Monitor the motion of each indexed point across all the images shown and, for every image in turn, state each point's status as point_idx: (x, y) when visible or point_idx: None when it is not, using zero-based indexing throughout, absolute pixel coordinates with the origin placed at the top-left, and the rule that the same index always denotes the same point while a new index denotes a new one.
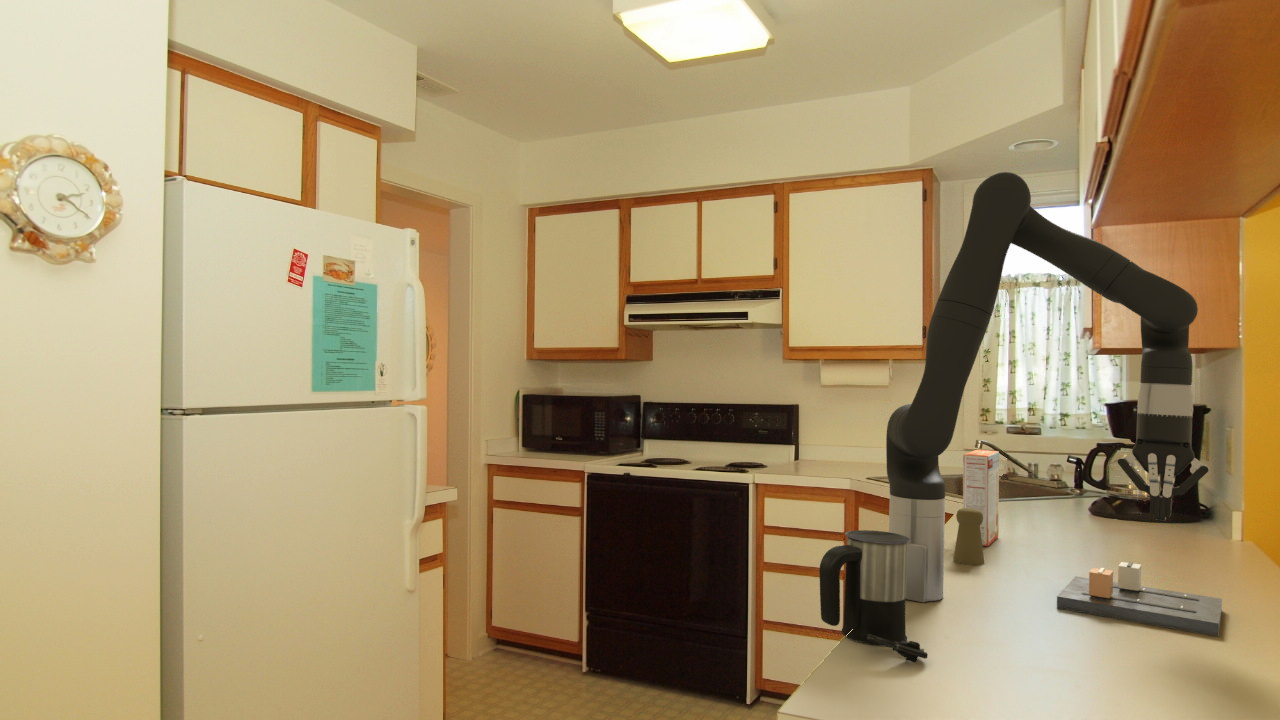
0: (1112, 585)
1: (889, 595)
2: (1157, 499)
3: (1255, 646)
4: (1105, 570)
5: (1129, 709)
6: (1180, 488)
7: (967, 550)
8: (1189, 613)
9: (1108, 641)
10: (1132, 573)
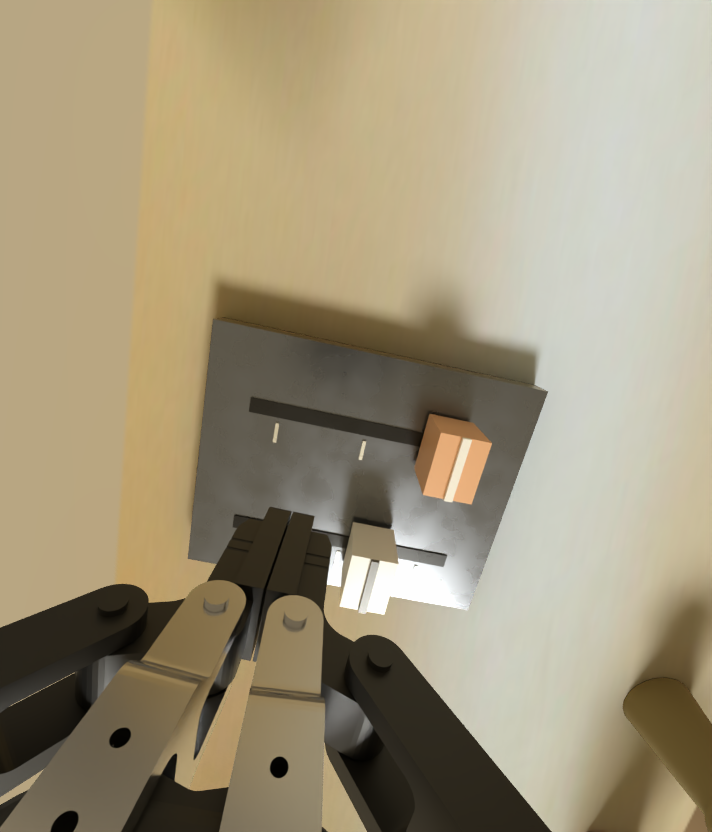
0: (419, 469)
1: None
2: (285, 580)
3: (159, 277)
4: (443, 488)
5: None
6: (98, 625)
7: (689, 711)
8: (265, 383)
9: (466, 127)
10: (366, 548)
